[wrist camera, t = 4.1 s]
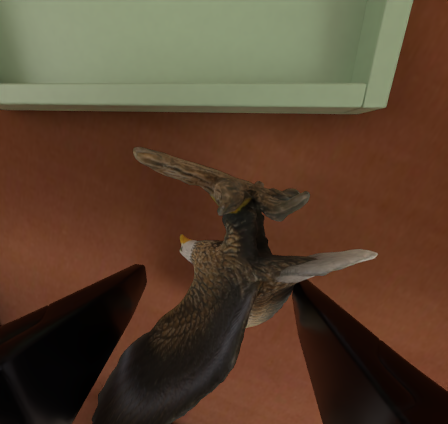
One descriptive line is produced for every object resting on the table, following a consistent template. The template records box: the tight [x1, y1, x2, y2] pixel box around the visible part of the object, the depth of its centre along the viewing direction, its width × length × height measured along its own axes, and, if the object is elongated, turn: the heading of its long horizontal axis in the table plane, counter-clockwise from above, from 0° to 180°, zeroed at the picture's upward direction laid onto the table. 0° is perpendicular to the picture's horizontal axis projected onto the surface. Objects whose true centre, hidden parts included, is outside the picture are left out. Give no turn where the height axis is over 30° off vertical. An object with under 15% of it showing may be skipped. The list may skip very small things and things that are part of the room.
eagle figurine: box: [92, 147, 378, 424], centre depth 8 cm, size 8×7×9 cm
